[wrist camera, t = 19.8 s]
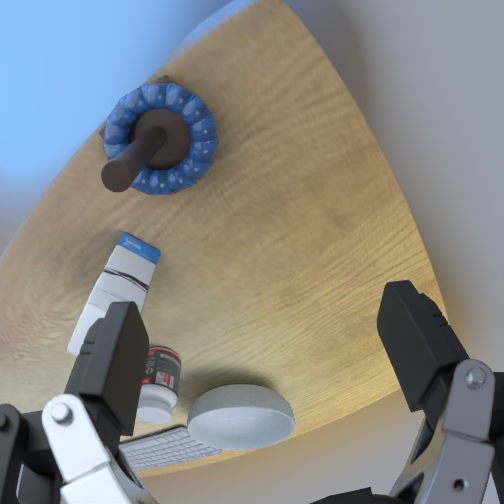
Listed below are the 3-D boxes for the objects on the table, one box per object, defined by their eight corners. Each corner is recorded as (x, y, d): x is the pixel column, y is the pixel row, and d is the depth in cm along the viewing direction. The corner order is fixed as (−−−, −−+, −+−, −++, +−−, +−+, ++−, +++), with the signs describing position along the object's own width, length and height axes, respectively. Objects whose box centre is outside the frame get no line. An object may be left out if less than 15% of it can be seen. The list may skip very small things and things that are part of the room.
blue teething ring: (169, 59, 23) (164, 58, 21) (240, 147, 28) (241, 153, 26) (88, 133, 26) (79, 138, 24) (157, 209, 30) (152, 219, 28)
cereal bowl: (170, 399, 50) (166, 434, 44) (230, 352, 44) (231, 394, 38) (246, 427, 56) (248, 458, 50) (310, 389, 50) (317, 424, 44)
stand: (166, 75, 25) (123, 79, 14) (218, 140, 29) (211, 187, 18) (103, 129, 27) (37, 171, 16) (154, 189, 31) (117, 258, 20)
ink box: (123, 229, 33) (86, 300, 23) (162, 251, 35) (140, 329, 25) (97, 281, 36) (64, 353, 26) (132, 300, 38) (109, 375, 28)
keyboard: (182, 423, 55) (182, 433, 53) (224, 443, 61) (224, 452, 59) (76, 452, 67) (74, 459, 65) (111, 468, 72) (110, 475, 70)
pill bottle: (150, 340, 42) (138, 399, 33) (187, 353, 44) (182, 413, 35) (138, 361, 44) (127, 417, 36) (173, 374, 46) (167, 429, 38)
